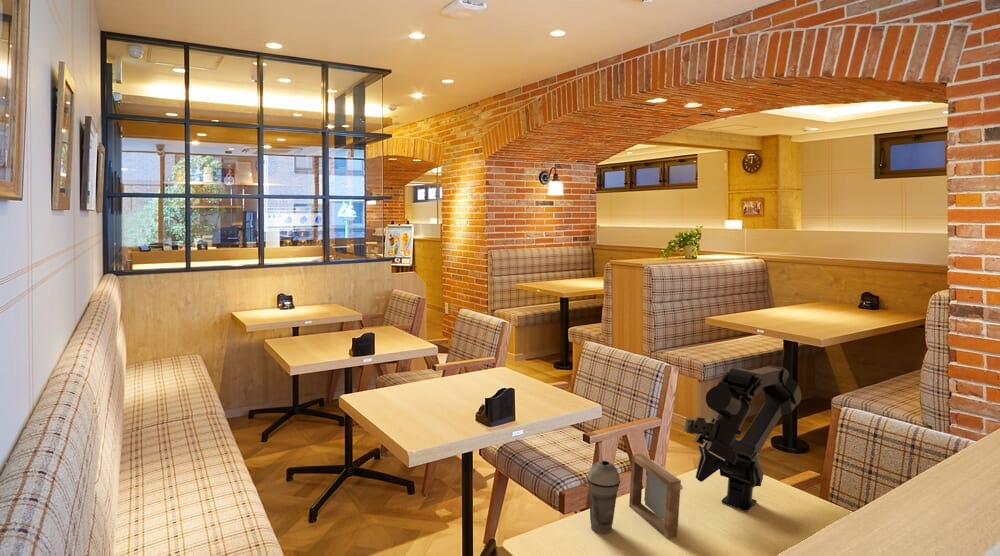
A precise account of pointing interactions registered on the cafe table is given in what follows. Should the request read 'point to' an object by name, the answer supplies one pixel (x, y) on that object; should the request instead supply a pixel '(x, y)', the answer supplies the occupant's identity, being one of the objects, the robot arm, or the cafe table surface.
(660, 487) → the cabinet door
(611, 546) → the cafe table surface
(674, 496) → the cabinet frame
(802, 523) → the cafe table surface
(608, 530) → the beverage cup
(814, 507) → the cafe table surface
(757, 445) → the robot arm
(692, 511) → the cafe table surface
